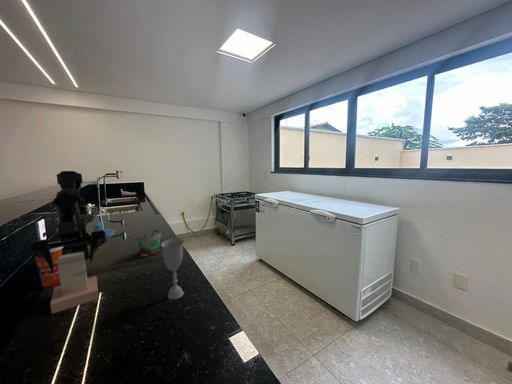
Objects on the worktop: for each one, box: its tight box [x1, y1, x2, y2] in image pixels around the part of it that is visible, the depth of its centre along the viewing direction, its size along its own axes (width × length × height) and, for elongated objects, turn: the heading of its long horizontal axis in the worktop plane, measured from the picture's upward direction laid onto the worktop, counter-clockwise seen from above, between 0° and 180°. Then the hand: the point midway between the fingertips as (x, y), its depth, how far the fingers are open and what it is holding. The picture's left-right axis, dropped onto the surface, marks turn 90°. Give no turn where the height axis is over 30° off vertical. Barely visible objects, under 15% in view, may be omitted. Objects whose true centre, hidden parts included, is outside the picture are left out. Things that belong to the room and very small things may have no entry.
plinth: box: [50, 275, 99, 314], centre depth 69 cm, size 11×11×3 cm
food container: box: [137, 229, 162, 259], centre depth 101 cm, size 12×6×10 cm, turn 168°
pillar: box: [58, 251, 88, 297], centre depth 68 cm, size 6×6×11 cm
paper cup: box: [34, 246, 64, 288], centre depth 77 cm, size 8×8×14 cm
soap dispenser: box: [93, 220, 117, 241], centre depth 122 cm, size 18×10×9 cm, turn 53°
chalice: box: [160, 238, 185, 300], centre depth 70 cm, size 7×7×18 cm
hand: (72, 266), depth 67 cm, fingers open, 9 cm apart
